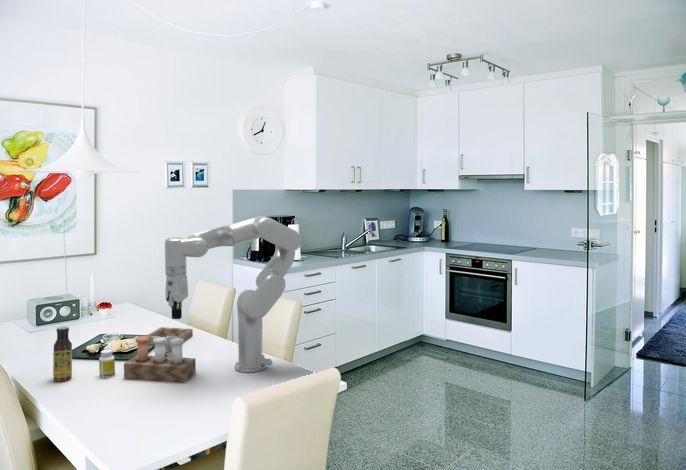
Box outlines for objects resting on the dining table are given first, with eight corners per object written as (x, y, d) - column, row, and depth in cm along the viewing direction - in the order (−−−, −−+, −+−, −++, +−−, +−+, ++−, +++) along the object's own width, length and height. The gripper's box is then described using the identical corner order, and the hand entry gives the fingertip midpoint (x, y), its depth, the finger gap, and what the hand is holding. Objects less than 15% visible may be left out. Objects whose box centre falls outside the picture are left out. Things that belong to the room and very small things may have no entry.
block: (195, 373, 204) (195, 358, 204) (184, 383, 195) (184, 367, 194) (137, 369, 207) (137, 354, 207) (124, 379, 198) (123, 363, 197)
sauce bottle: (53, 383, 192) (50, 330, 190) (53, 377, 198) (51, 326, 196) (73, 380, 195) (71, 328, 193) (73, 375, 201) (71, 324, 199)
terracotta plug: (152, 361, 203) (151, 336, 202) (145, 366, 199) (145, 340, 198) (140, 361, 204) (139, 335, 203) (133, 365, 199) (133, 339, 198)
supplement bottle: (118, 374, 202) (117, 349, 201) (107, 379, 197) (106, 354, 196) (107, 372, 204) (106, 348, 203) (96, 377, 199) (95, 352, 198)
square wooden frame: (192, 336, 252) (192, 328, 252) (178, 346, 237) (178, 338, 236) (161, 334, 254) (161, 327, 254) (144, 344, 239) (144, 336, 238)
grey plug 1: (169, 363, 203) (168, 337, 202) (163, 367, 198) (162, 341, 197) (157, 362, 203) (156, 336, 202) (151, 366, 198) (150, 340, 197)
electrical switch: (160, 362, 215) (158, 340, 215) (153, 361, 219) (151, 339, 218) (179, 357, 223) (178, 335, 222) (172, 355, 226) (171, 334, 226)
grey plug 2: (186, 364, 202) (185, 338, 201) (180, 368, 197) (180, 342, 196) (174, 363, 202) (174, 337, 201) (168, 367, 198) (168, 341, 197)
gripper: (176, 274, 188) (177, 324, 190) (193, 267, 203) (194, 314, 205) (156, 273, 189) (157, 323, 191) (175, 267, 204) (176, 313, 206)
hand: (176, 318), depth 198 cm, fingers closed
